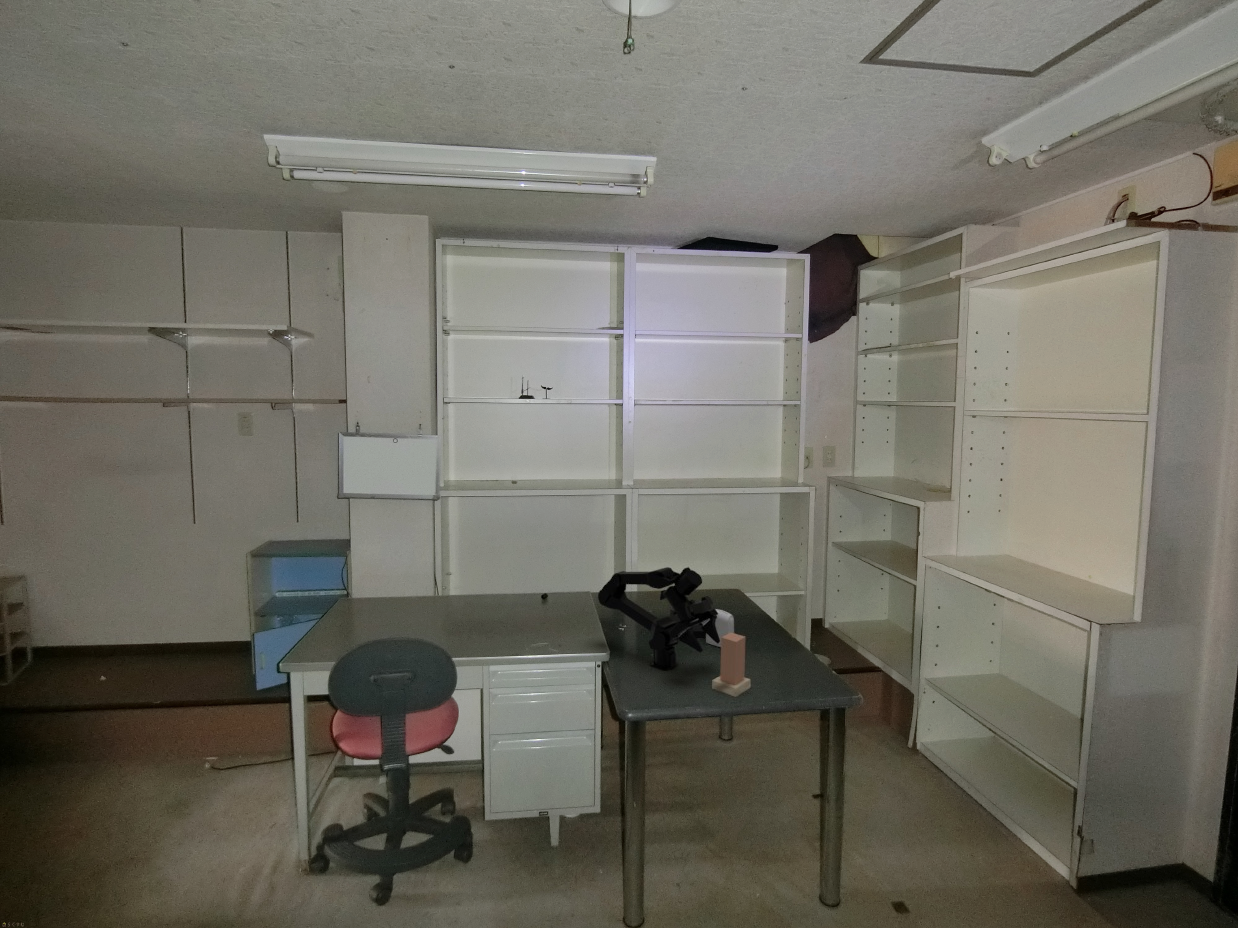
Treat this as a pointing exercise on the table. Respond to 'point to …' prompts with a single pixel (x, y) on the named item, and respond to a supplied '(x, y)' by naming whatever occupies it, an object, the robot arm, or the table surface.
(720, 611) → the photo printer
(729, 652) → the column
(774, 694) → the table surface
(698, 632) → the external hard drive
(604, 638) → the table surface
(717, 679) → the slab
